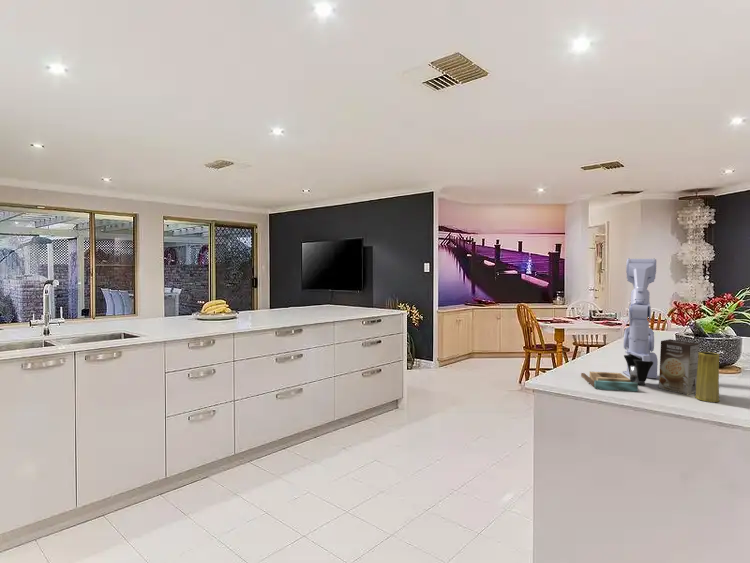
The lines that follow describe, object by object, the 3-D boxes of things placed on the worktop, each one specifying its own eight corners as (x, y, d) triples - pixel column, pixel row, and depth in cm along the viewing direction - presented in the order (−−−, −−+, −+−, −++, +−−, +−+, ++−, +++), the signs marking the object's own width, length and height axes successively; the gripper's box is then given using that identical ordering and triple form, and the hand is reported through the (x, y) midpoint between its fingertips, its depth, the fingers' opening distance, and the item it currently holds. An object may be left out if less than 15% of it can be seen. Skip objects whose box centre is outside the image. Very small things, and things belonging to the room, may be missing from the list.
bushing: (640, 382, 161) (640, 364, 160) (647, 385, 156) (647, 367, 156) (627, 382, 161) (627, 364, 161) (633, 385, 157) (633, 367, 156)
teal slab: (618, 378, 167) (618, 371, 167) (637, 391, 149) (637, 383, 149) (581, 376, 169) (581, 369, 169) (595, 388, 151) (595, 381, 151)
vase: (723, 403, 137) (725, 355, 136) (700, 401, 138) (702, 354, 138) (713, 397, 143) (714, 351, 142) (691, 396, 144) (692, 350, 144)
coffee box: (657, 388, 153) (659, 340, 153) (667, 385, 157) (668, 339, 156) (688, 395, 145) (689, 344, 145) (697, 392, 149) (699, 343, 148)
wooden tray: (619, 381, 161) (620, 373, 161) (630, 388, 152) (630, 379, 152) (589, 379, 163) (589, 371, 163) (597, 387, 153) (597, 378, 153)
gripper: (619, 335, 166) (617, 373, 166) (633, 341, 152) (632, 382, 152) (640, 336, 165) (639, 374, 165) (657, 342, 150) (656, 384, 151)
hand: (637, 378), depth 159 cm, fingers open, 7 cm apart
